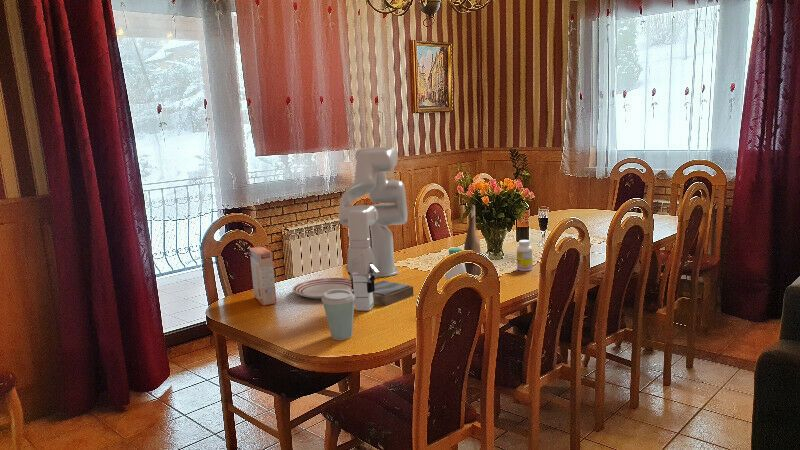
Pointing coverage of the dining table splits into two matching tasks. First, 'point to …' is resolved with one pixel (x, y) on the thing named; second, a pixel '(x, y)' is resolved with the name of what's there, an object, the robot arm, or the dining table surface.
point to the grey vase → (472, 243)
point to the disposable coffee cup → (339, 312)
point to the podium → (390, 292)
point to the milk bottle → (456, 269)
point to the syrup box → (362, 293)
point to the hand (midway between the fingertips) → (363, 289)
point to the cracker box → (263, 275)
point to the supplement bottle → (524, 256)
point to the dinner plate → (321, 287)
